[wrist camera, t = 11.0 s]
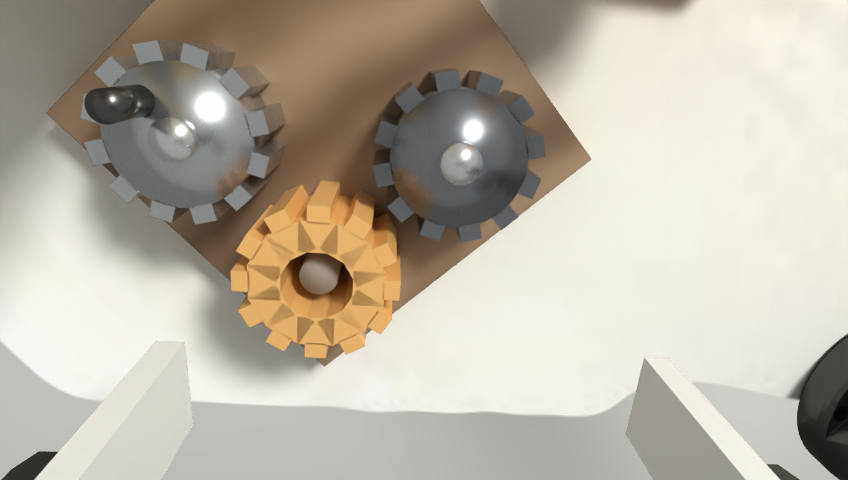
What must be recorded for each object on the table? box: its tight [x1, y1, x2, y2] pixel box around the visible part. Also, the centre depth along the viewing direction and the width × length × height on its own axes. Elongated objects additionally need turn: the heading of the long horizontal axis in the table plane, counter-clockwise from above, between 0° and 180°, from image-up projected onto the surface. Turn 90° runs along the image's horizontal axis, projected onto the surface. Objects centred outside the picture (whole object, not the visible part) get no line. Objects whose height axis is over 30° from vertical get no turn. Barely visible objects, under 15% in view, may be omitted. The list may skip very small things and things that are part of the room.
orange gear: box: [231, 181, 401, 358], centre depth 28 cm, size 8×8×5 cm
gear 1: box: [81, 40, 286, 224], centre depth 24 cm, size 8×8×7 cm
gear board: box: [47, 0, 591, 367], centre depth 27 cm, size 21×21×6 cm
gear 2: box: [373, 68, 545, 242], centre depth 26 cm, size 8×8×5 cm
